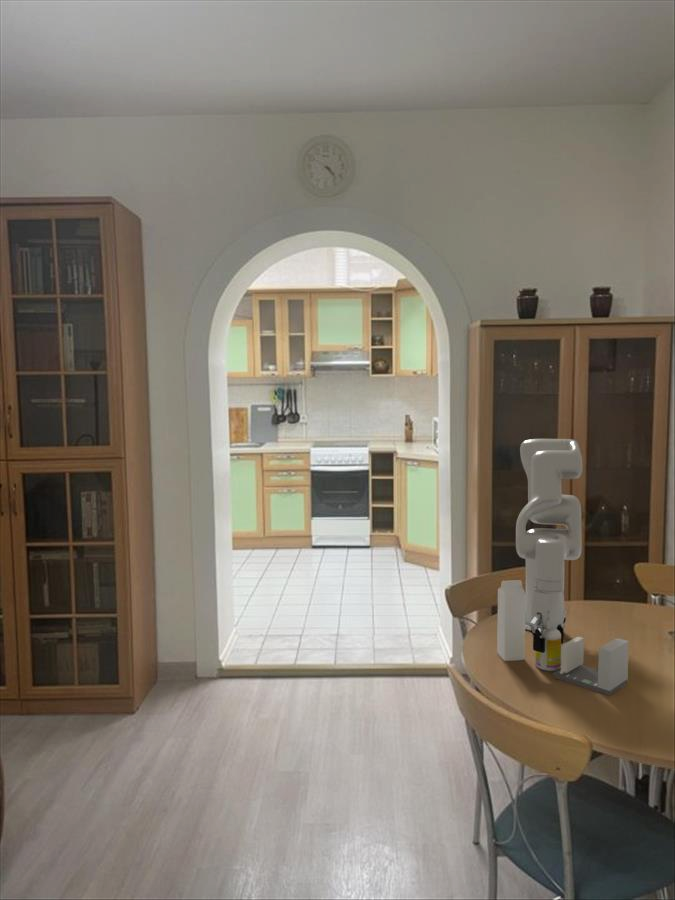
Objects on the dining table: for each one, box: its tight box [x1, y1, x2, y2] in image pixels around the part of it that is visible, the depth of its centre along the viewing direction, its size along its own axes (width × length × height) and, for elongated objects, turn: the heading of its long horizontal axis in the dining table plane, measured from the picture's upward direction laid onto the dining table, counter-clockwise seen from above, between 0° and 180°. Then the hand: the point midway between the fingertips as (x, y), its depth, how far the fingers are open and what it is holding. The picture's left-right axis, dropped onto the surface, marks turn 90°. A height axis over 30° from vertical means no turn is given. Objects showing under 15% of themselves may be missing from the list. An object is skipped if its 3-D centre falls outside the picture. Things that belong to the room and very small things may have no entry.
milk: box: [496, 579, 526, 662], centre depth 188 cm, size 6×6×22 cm
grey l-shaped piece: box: [553, 637, 630, 697], centre depth 172 cm, size 15×10×11 cm, turn 43°
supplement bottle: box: [534, 625, 562, 672], centre depth 181 cm, size 7×7×13 cm
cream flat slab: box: [560, 636, 585, 674], centre depth 175 cm, size 2×10×7 cm, turn 133°
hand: (548, 646), depth 180 cm, fingers open, 9 cm apart
